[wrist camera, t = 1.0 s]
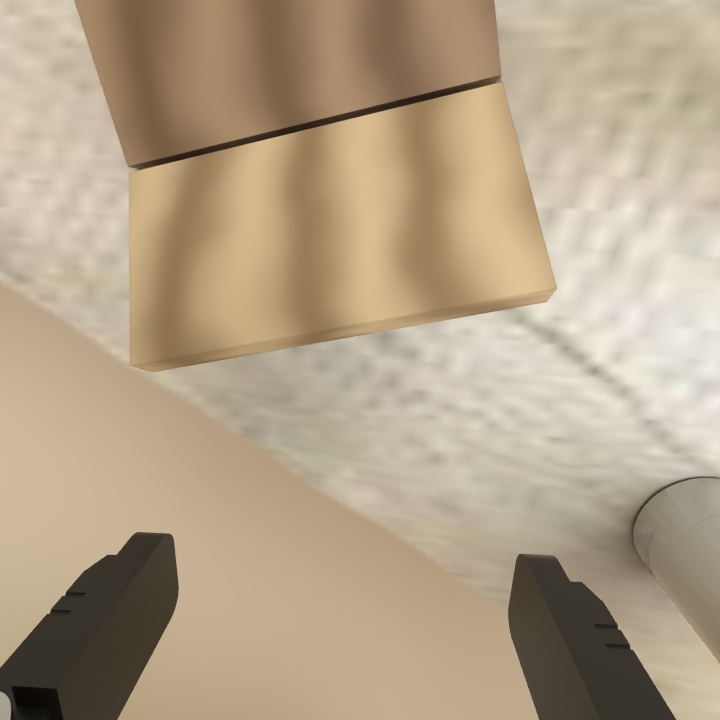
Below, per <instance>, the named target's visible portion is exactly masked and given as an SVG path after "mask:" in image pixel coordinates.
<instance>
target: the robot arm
mask: <svg viewBox="0 0 720 720" xmlns="http://www.w3.org/2000/svg"><path fill="white" fill-rule="evenodd" d="M633 541H634V547H635V549H636V551H637V553H638V555H639V557H640V558H641V559H642V561H643V562H644V563H645V565H646V566H647V567H648V569H649V571H650V572H651V574H652V575H653V576H654V578H656V579H657V581H658V582H659V583H660V585H661V586H662V587H663V589H664V590H665V591H666V592H667V594H668V595H669V597H670V598H671V599H672V601H673V602H674V603H675V605H676V606H677V607H678V609H679V610H680V611H681V613H682V614H683V615H684V617H685V618H686V619H687V621H688V622H689V623H690V625H691V626H692V627H693V629H694V630H695V631H696V633H697V634H698V635H699V637H700V638H701V639H702V641H703V642H704V643H705V645H706V646H707V647H708V649H709V650H710V651H711V653H712V654H713V655H714V657H715V658H716V659H717V661H718V662H719V663H720V479H718V478H697V479H689V480H686V481H682V482H679V483H676V484H674V485H672V486H670V487H668V488H665V489H664V490H662V491H661V492H659V493H658V494H656V495H655V496H654V497H652V499H651V500H650V501H649V502H648V503H647V504H646V505H645V506H644V507H643V509H642V510H641V512H640V513H639V515H638V517H637V519H636V522H635V525H634V530H633ZM175 557H176V556H175V548H174V539H173V537H172V535H171V534H165V533H164V534H163V533H146V532H137V533H135V534H134V535H133V536H132V537H131V538H130V539H129V540H128V542H127V543H126V544H125V545H124V546H123V548H122V549H121V550H120V551H119V553H118V554H117V555H107V556H106V557H104V558H102V559H101V560H100V561H98V562H97V563H95V564H94V565H92V566H91V567H90V568H88V569H87V570H85V571H84V572H83V573H82V574H81V575H80V577H79V578H78V579H77V580H76V581H75V582H74V583H73V585H72V586H71V587H70V588H69V589H68V590H67V592H66V595H65V596H62V597H61V598H60V600H59V601H58V602H57V603H56V604H55V605H54V607H53V608H52V609H51V612H50V614H47V615H46V616H45V617H44V618H43V619H42V621H41V622H40V623H39V624H38V625H37V626H36V627H35V628H34V630H33V631H32V632H31V633H30V634H29V635H28V637H27V638H26V639H25V640H24V641H23V642H22V644H21V645H20V646H19V647H18V648H17V649H16V650H15V652H14V653H13V654H12V655H11V656H10V658H9V659H8V660H7V661H6V662H5V663H4V664H3V666H2V667H1V668H0V720H117V719H118V717H119V715H120V713H121V711H122V710H123V708H124V706H125V704H126V702H127V700H128V698H129V696H130V694H131V693H132V691H133V689H134V687H135V685H136V683H137V681H138V679H139V677H140V676H141V674H142V672H143V670H144V668H145V666H146V664H147V663H148V661H149V659H150V657H151V655H152V653H153V651H154V649H155V648H156V646H157V644H158V642H159V640H160V638H161V636H162V634H163V633H164V630H165V629H166V627H167V625H168V623H169V621H170V619H171V617H172V615H173V613H174V610H175V607H176V603H177V598H178V589H179V587H178V576H177V566H176V558H175ZM508 618H509V627H510V633H511V637H512V640H513V643H514V646H515V649H516V652H517V655H518V658H519V660H520V664H521V667H522V670H523V673H524V676H525V679H526V682H527V685H528V688H529V690H530V693H531V696H532V699H533V702H534V705H535V708H536V711H537V714H538V717H539V720H676V719H675V717H674V715H673V714H672V712H671V711H670V709H669V707H668V706H667V704H666V702H665V701H664V699H663V698H662V696H661V694H660V693H659V691H658V690H657V688H656V686H655V685H654V683H653V681H652V680H651V678H650V677H649V675H648V673H647V672H646V670H645V669H644V667H643V665H642V664H641V662H640V661H639V659H638V657H637V656H636V654H635V652H634V651H633V650H631V649H630V644H629V643H628V641H627V640H626V638H625V636H624V635H623V633H622V632H621V630H618V625H617V623H616V622H615V620H614V619H613V617H612V615H611V614H610V612H609V611H608V609H607V607H606V606H605V604H604V603H603V601H602V600H600V599H599V598H598V597H597V596H596V595H595V594H594V593H593V592H592V591H591V590H590V589H589V588H587V587H586V586H585V585H584V584H583V583H582V582H570V580H569V579H568V577H567V575H566V573H565V572H564V570H563V568H562V566H561V564H560V563H559V561H558V559H557V558H556V557H555V556H551V555H533V554H519V555H518V557H517V560H516V565H515V571H514V577H513V583H512V589H511V595H510V601H509V609H508Z"/></svg>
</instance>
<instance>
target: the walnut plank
mask: <svg viewBox="0 0 720 720" xmlns="http://www.w3.org/2000/svg"><path fill="white" fill-rule="evenodd" d="M74 1H75V4H76V7H77V10H78V13H79V16H80V19H81V22H82V26H83V29H84V32H85V35H86V38H87V41H88V44H89V47H90V50H91V53H92V57H93V60H94V63H95V66H96V69H97V72H98V75H99V78H100V81H101V84H102V88H103V91H104V94H105V97H106V100H107V103H108V106H109V109H110V112H111V116H112V119H113V122H114V125H115V128H116V131H117V134H118V137H119V140H120V143H121V147H122V150H123V153H124V156H125V159H126V162H127V165H128V167H133V168H137V169H141V170H143V169H147V168H151V167H155V166H159V165H163V164H167V163H171V162H176V161H180V160H184V159H188V158H192V157H196V156H200V155H204V154H208V153H213V152H217V151H221V150H225V149H229V148H233V147H237V146H241V145H245V144H250V143H254V142H258V141H262V140H266V139H270V138H274V137H278V136H282V135H287V134H291V133H295V132H299V131H303V130H307V129H311V128H315V127H319V126H324V125H328V124H332V123H336V122H340V121H344V120H348V119H352V118H356V117H361V116H365V115H369V114H373V113H377V112H381V111H385V110H389V109H393V108H398V107H402V106H406V105H410V104H414V103H418V102H422V101H426V100H430V99H435V98H439V97H443V96H447V95H451V94H455V93H459V92H463V91H467V90H472V89H476V88H480V87H484V86H488V85H492V84H495V83H496V81H497V80H498V79H499V77H500V76H501V67H500V57H499V46H498V36H497V25H496V14H495V4H494V0H74Z"/></svg>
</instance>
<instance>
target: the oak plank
mask: <svg viewBox="0 0 720 720" xmlns="http://www.w3.org/2000/svg"><path fill="white" fill-rule="evenodd" d="M129 262H130V366H133V367H137V368H140V369H143V370H147V371H150V372H156V371H162V370H168V369H173V368H179V367H185V366H190V365H196V364H201V363H207V362H213V361H218V360H224V359H229V358H235V357H241V356H246V355H252V354H258V353H263V352H269V351H274V350H280V349H286V348H291V347H297V346H302V345H308V344H314V343H319V342H325V341H331V340H336V339H342V338H347V337H353V336H359V335H364V334H370V333H376V332H381V331H387V330H392V329H398V328H404V327H409V326H415V325H420V324H426V323H432V322H437V321H443V320H449V319H454V318H460V317H465V316H471V315H477V314H482V313H488V312H493V311H499V310H505V309H510V308H516V307H522V306H527V305H533V304H538V303H544V302H547V301H548V299H549V298H550V297H551V295H552V294H553V292H554V291H555V290H556V288H557V287H556V283H555V279H554V275H553V272H552V268H551V264H550V260H549V257H548V253H547V249H546V245H545V241H544V238H543V234H542V230H541V226H540V222H539V219H538V215H537V211H536V207H535V204H534V200H533V196H532V192H531V188H530V185H529V181H528V177H527V173H526V169H525V166H524V162H523V158H522V154H521V151H520V147H519V143H518V139H517V135H516V132H515V128H514V124H513V120H512V117H511V113H510V109H509V105H508V101H507V98H506V94H505V90H504V86H503V82H500V83H496V84H492V85H488V86H484V87H480V88H476V89H472V90H467V91H463V92H459V93H455V94H451V95H447V96H443V97H439V98H435V99H430V100H426V101H422V102H418V103H414V104H410V105H406V106H402V107H398V108H393V109H389V110H385V111H381V112H377V113H373V114H369V115H365V116H361V117H356V118H352V119H348V120H344V121H340V122H336V123H332V124H328V125H324V126H319V127H315V128H311V129H307V130H303V131H299V132H295V133H291V134H287V135H282V136H278V137H274V138H270V139H266V140H262V141H258V142H254V143H250V144H245V145H241V146H237V147H233V148H229V149H225V150H221V151H217V152H213V153H208V154H204V155H200V156H196V157H192V158H188V159H184V160H180V161H176V162H171V163H167V164H163V165H159V166H155V167H151V168H147V169H143V170H139V171H134V172H130V173H129Z"/></svg>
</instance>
